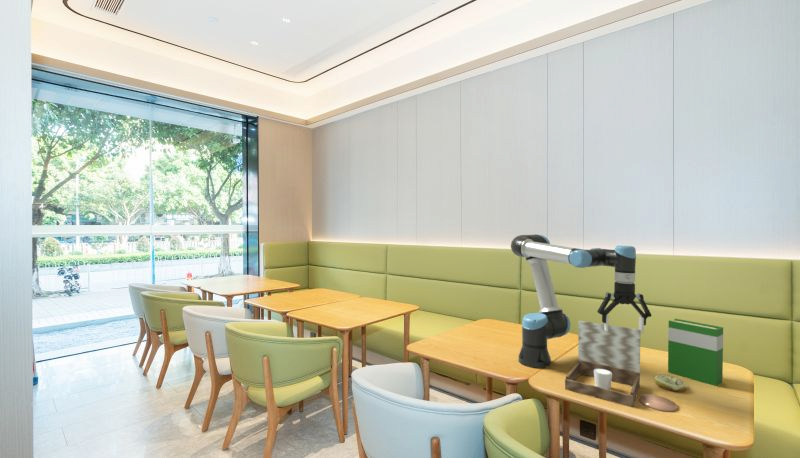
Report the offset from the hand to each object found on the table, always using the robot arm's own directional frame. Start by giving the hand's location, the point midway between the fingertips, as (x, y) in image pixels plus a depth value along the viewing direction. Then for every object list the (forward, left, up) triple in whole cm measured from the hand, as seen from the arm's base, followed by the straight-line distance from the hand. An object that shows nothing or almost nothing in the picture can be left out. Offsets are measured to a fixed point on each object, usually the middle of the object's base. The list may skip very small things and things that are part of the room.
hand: (623, 331), depth 158 cm
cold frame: (-6, -9, -23) cm, 25 cm away
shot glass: (-6, -9, -23) cm, 25 cm away
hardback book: (+24, +29, -23) cm, 44 cm away
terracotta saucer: (+13, -11, -23) cm, 28 cm away
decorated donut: (+16, +10, -23) cm, 30 cm away
